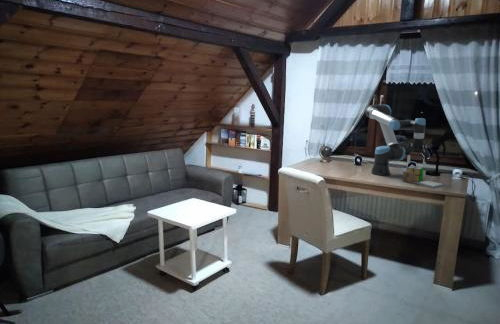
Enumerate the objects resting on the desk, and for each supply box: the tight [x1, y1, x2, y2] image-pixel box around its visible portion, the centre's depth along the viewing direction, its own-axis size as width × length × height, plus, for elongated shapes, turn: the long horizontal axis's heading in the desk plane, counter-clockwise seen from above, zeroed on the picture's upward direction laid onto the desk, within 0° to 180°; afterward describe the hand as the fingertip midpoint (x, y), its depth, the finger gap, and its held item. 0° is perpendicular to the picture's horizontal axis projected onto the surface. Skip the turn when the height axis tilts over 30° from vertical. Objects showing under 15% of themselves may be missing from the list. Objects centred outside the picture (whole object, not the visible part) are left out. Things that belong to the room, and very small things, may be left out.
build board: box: [415, 179, 446, 189], centre depth 270 cm, size 14×14×1 cm
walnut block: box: [402, 170, 415, 185], centre depth 276 cm, size 6×6×8 cm
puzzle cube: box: [406, 165, 425, 182], centre depth 284 cm, size 10×10×10 cm
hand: (416, 164), depth 283 cm, fingers open, 13 cm apart
